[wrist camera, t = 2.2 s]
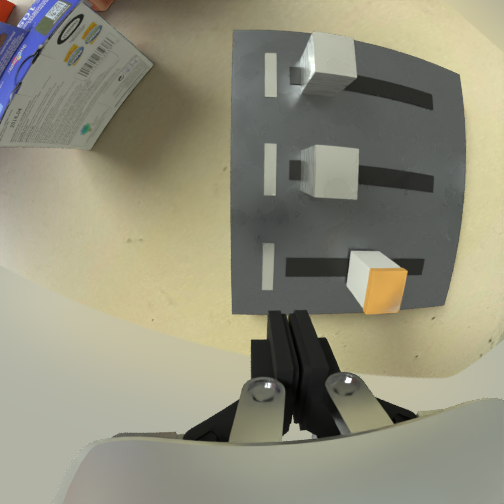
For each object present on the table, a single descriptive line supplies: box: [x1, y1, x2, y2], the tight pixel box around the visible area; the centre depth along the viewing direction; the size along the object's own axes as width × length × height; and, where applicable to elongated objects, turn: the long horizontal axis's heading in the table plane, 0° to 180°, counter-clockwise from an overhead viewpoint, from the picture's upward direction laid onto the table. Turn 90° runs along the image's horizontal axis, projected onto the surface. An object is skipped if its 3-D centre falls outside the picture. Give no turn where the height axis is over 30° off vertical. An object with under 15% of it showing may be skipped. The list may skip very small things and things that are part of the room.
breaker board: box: [231, 30, 466, 315], centre depth 17 cm, size 20×22×8 cm
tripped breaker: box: [346, 251, 408, 315], centre depth 18 cm, size 2×3×4 cm
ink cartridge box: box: [0, 0, 153, 150], centre depth 12 cm, size 10×6×14 cm, turn 139°
